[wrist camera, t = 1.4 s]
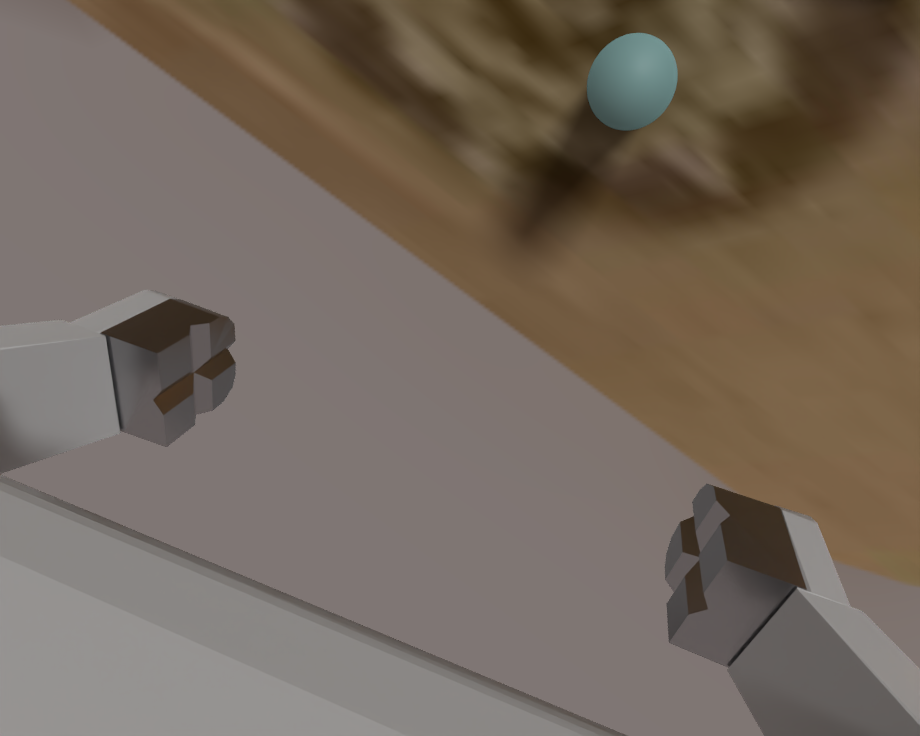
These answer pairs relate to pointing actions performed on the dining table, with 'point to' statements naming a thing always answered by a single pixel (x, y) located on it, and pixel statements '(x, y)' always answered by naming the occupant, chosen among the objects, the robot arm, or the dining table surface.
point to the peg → (632, 81)
